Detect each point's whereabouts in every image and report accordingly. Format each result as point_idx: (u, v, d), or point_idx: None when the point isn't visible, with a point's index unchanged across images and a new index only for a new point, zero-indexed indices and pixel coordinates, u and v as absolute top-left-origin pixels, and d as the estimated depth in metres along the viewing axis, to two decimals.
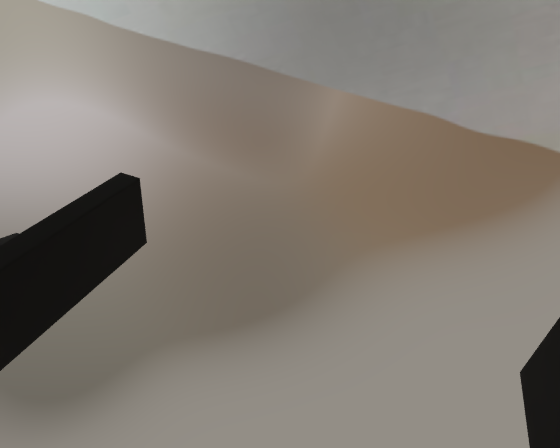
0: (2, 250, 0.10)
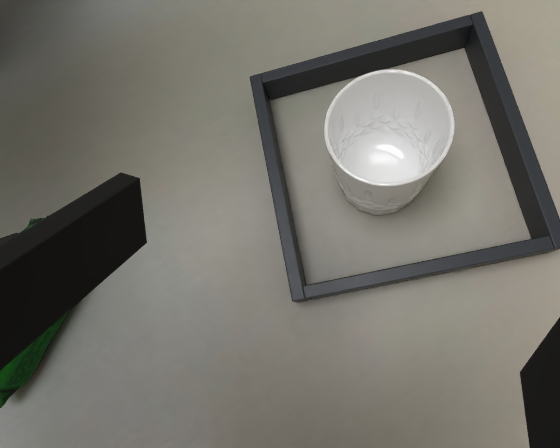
0: (2, 250, 0.10)
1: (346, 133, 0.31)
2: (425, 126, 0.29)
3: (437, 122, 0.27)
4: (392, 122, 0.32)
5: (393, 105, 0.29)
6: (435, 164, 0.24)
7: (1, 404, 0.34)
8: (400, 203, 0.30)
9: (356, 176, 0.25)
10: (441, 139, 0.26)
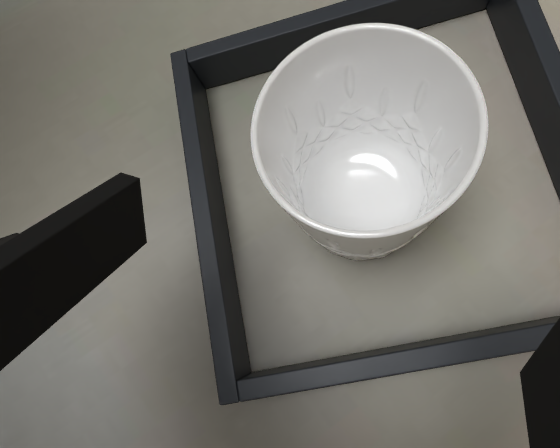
0: (2, 250, 0.10)
1: (304, 137, 0.19)
2: (431, 125, 0.17)
3: (453, 118, 0.15)
4: (377, 119, 0.20)
5: (378, 91, 0.18)
6: (453, 197, 0.13)
7: None
8: (391, 250, 0.19)
9: (305, 218, 0.13)
10: (461, 148, 0.15)
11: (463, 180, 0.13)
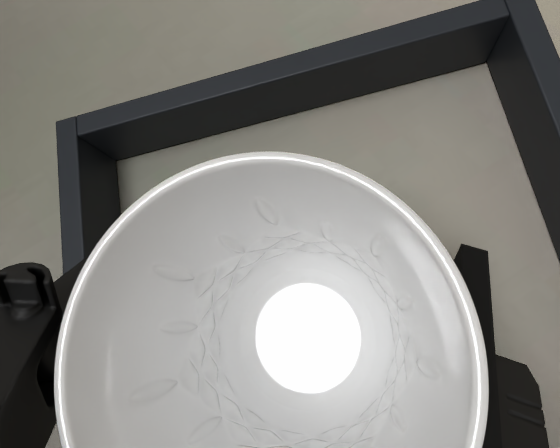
0: None
1: (209, 277, 0.13)
2: (397, 282, 0.11)
3: (427, 308, 0.09)
4: (324, 243, 0.13)
5: (315, 221, 0.11)
6: None
7: None
8: None
9: None
10: (439, 371, 0.08)
11: None
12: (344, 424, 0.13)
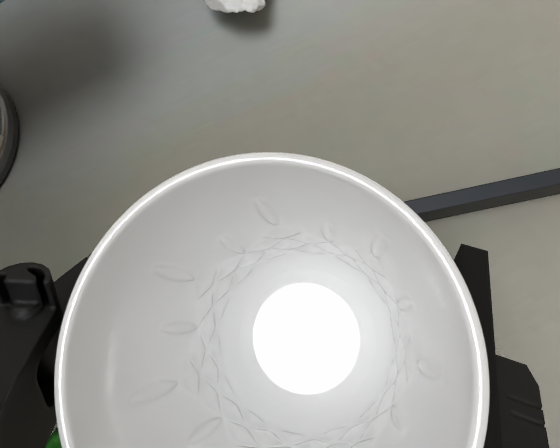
0: None
1: (210, 278, 0.13)
2: (397, 283, 0.11)
3: (428, 309, 0.09)
4: (324, 244, 0.13)
5: (316, 222, 0.11)
6: None
7: None
8: None
9: None
10: (440, 372, 0.08)
11: None
12: (344, 425, 0.13)
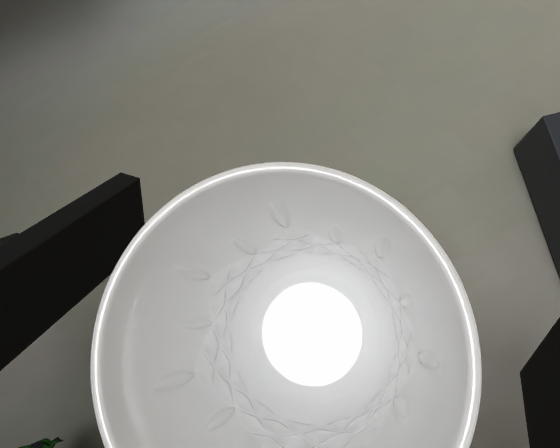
0: (2, 250, 0.10)
1: (223, 276, 0.14)
2: (400, 282, 0.12)
3: (427, 304, 0.10)
4: (331, 245, 0.14)
5: (324, 224, 0.12)
6: None
7: None
8: None
9: None
10: (438, 362, 0.09)
11: None
12: (349, 416, 0.14)
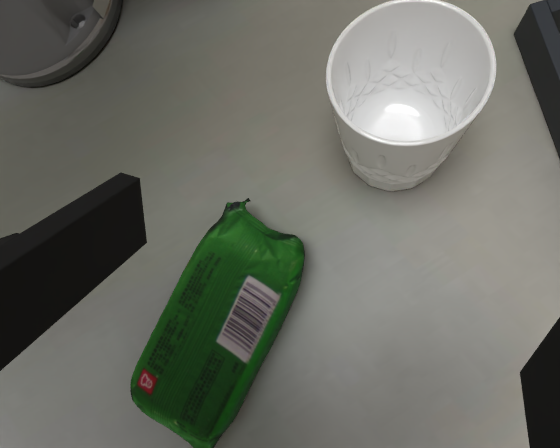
0: (2, 250, 0.10)
1: (354, 89, 0.25)
2: (453, 76, 0.23)
3: (470, 67, 0.21)
4: (410, 76, 0.26)
5: (413, 51, 0.24)
6: (471, 116, 0.18)
7: None
8: (420, 174, 0.25)
9: (367, 134, 0.19)
10: (476, 88, 0.21)
11: (478, 105, 0.19)
12: None
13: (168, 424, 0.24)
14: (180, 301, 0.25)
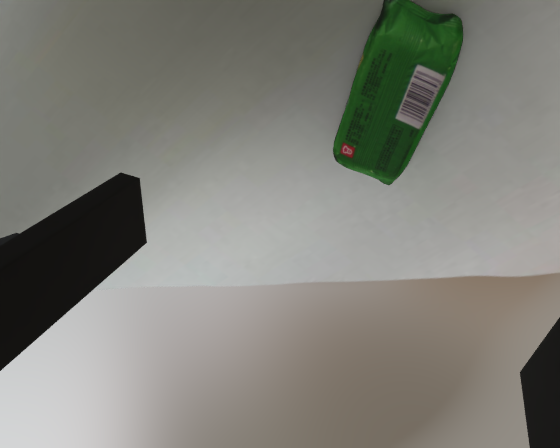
0: (2, 250, 0.10)
1: None
2: None
3: None
4: None
5: None
6: None
7: (392, 182, 0.39)
8: None
9: None
10: None
11: None
12: None
13: (366, 172, 0.37)
14: (363, 93, 0.33)
